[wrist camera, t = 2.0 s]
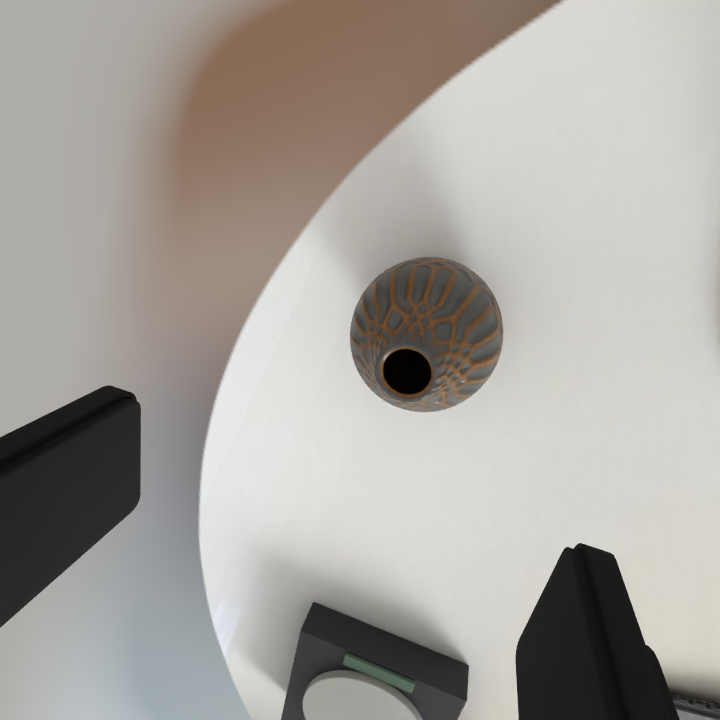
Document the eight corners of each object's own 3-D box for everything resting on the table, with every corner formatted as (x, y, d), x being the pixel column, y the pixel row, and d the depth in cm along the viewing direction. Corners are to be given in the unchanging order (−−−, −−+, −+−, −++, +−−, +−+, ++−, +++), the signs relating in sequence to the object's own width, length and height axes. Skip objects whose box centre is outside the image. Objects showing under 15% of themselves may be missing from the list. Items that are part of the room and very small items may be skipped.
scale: (313, 601, 34) (297, 637, 31) (469, 665, 32) (466, 710, 29) (291, 697, 39) (275, 736, 36) (426, 758, 37) (420, 805, 34)
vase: (376, 245, 24) (317, 269, 16) (511, 255, 22) (522, 287, 14) (369, 365, 26) (316, 439, 18) (491, 383, 25) (490, 471, 17)
